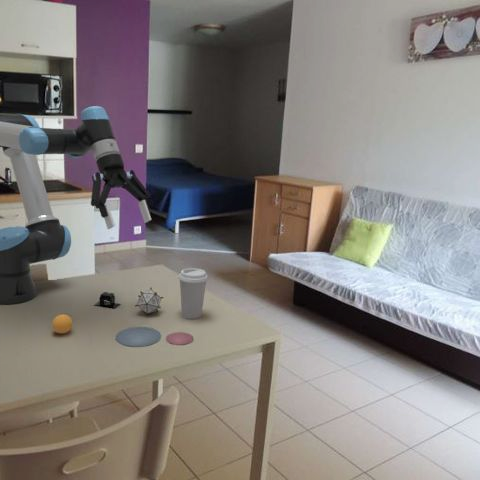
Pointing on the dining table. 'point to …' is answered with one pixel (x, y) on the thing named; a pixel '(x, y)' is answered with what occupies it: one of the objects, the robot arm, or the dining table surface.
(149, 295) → the game die
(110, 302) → the black boxy piece
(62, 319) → the ball
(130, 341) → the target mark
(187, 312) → the coffee cup
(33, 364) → the dining table surface
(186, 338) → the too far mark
